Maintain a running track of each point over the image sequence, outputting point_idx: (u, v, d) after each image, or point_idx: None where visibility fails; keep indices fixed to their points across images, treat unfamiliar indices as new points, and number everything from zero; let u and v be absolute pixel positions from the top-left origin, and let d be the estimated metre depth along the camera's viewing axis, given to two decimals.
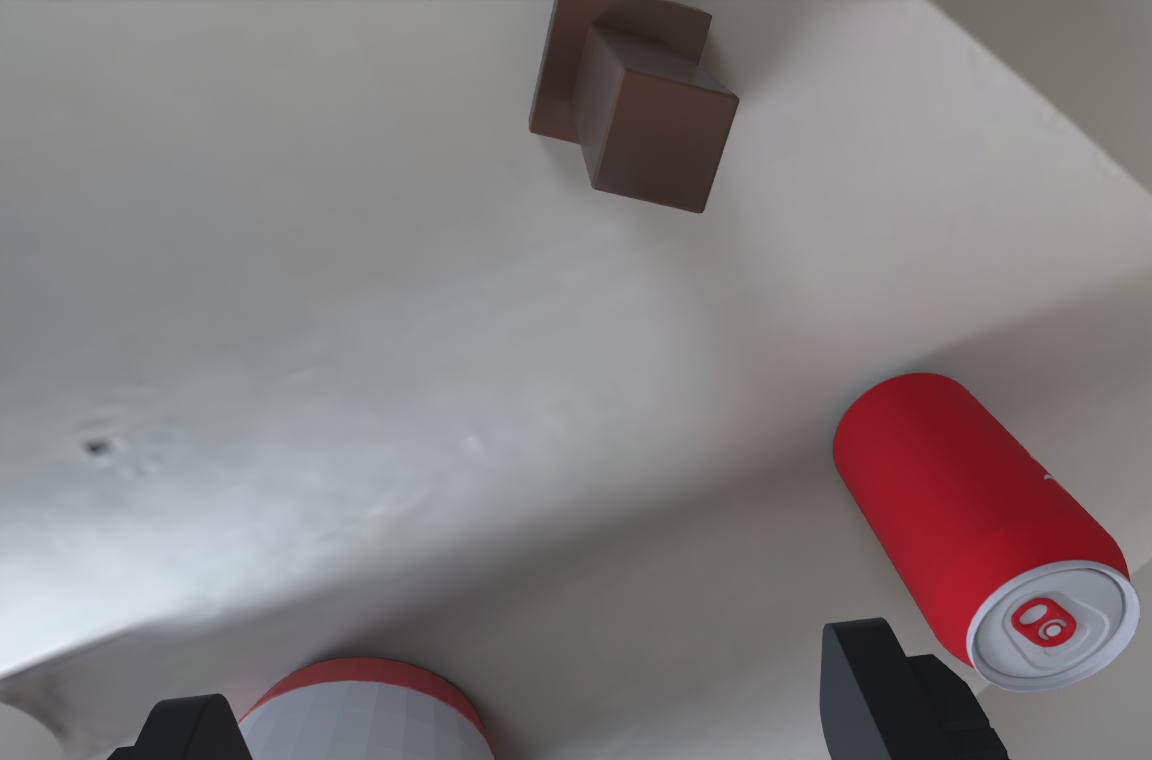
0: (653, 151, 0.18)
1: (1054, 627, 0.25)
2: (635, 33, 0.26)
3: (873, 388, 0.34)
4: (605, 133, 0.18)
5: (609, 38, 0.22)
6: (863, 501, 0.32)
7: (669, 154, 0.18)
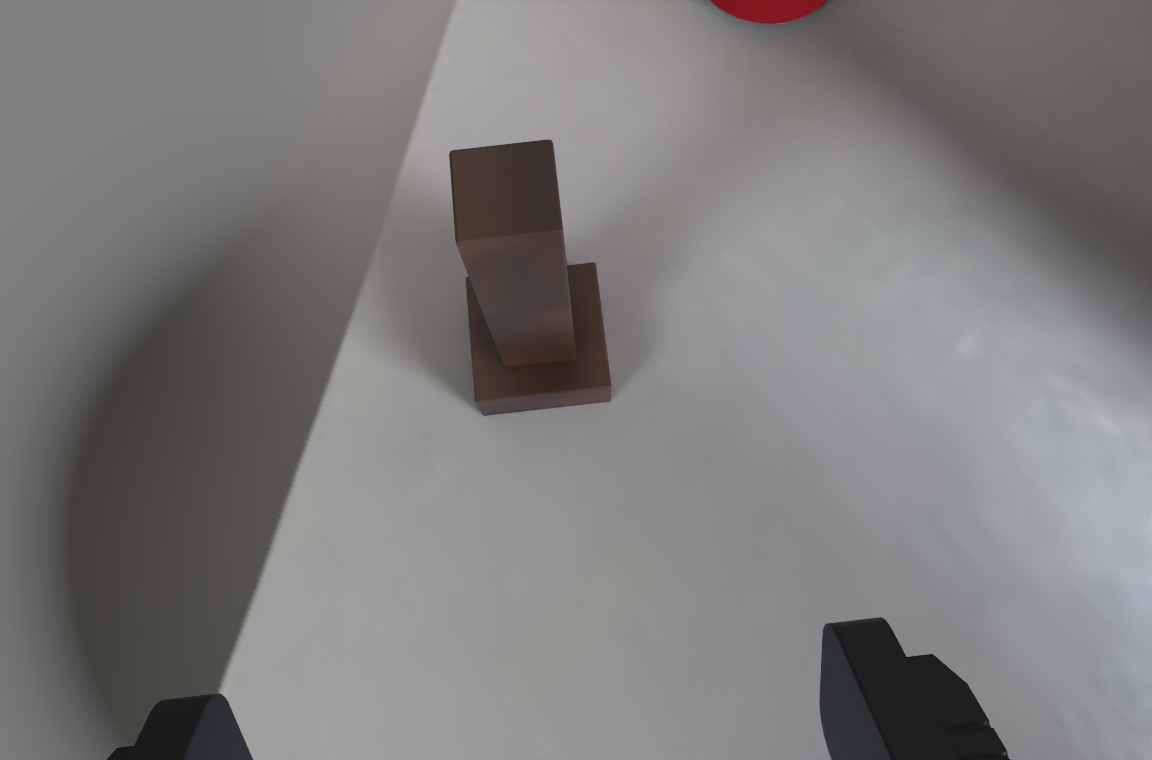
0: (513, 195, 0.20)
1: None
2: None
3: (730, 13, 0.35)
4: (512, 238, 0.20)
5: None
6: None
7: (511, 183, 0.21)
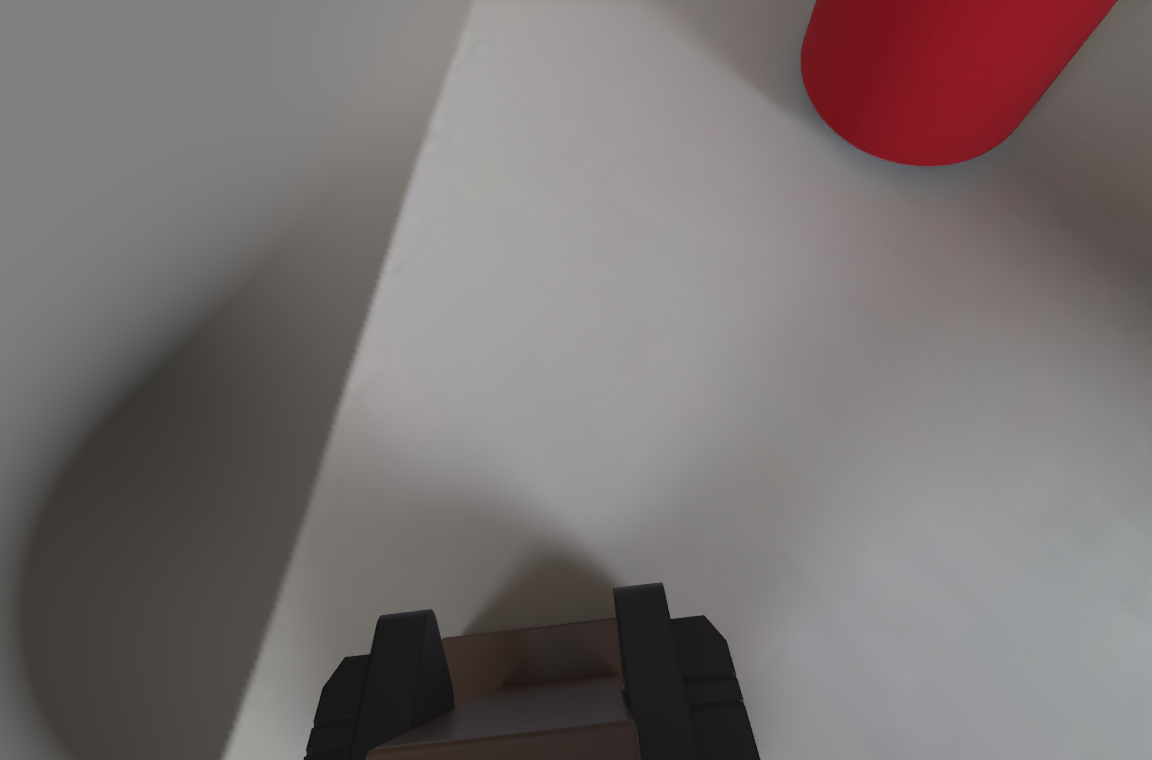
0: None
1: None
2: None
3: (863, 149, 0.22)
4: None
5: None
6: (1058, 61, 0.19)
7: None
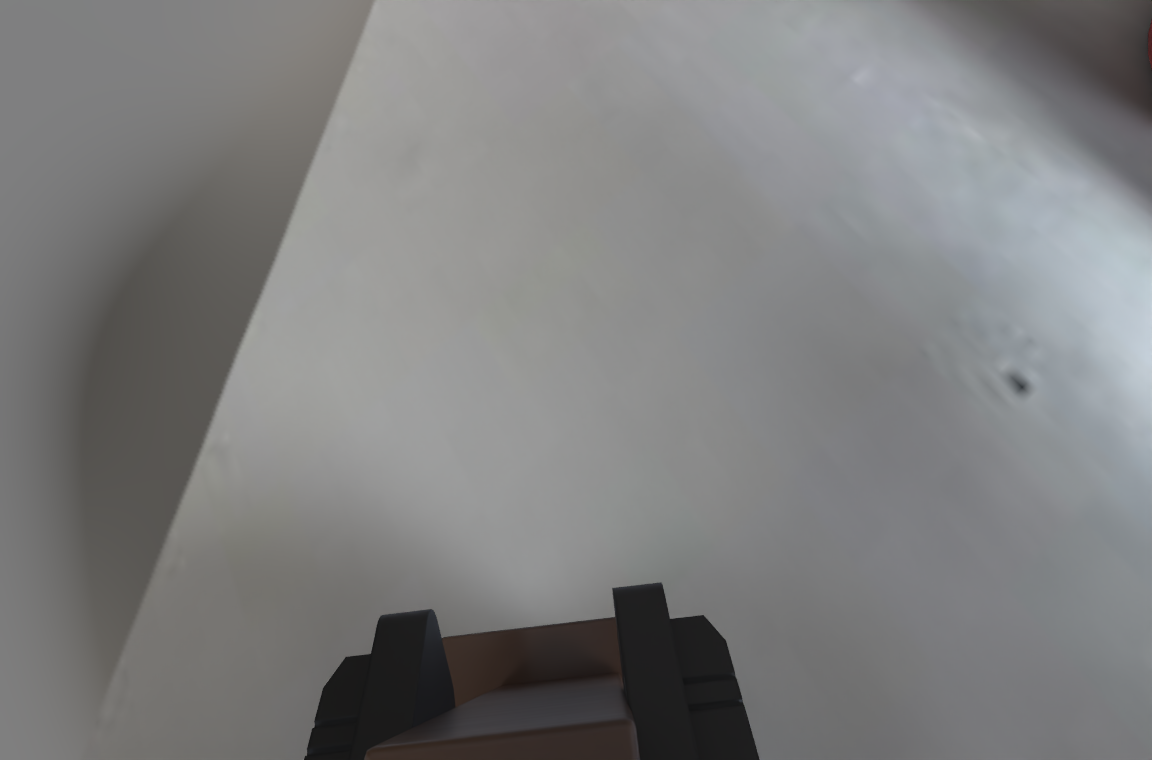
0: None
1: None
2: None
3: None
4: None
5: None
6: None
7: None
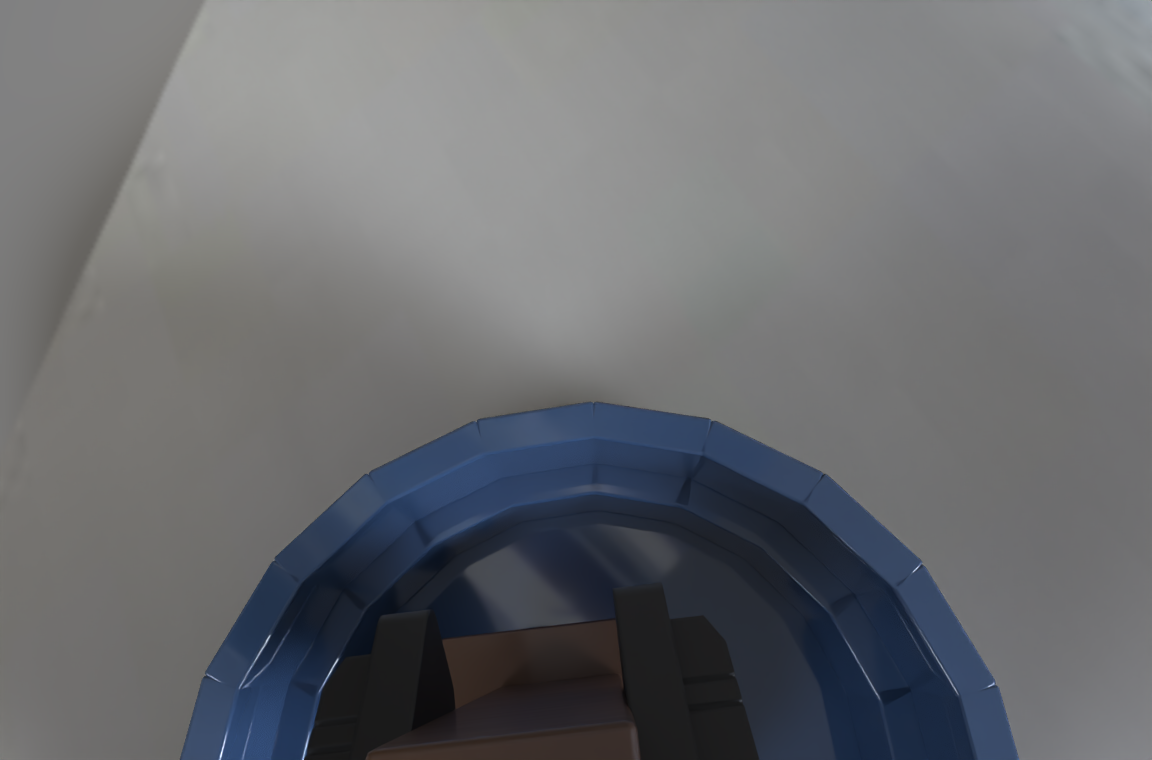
0: None
1: None
2: None
3: None
4: None
5: None
6: None
7: None
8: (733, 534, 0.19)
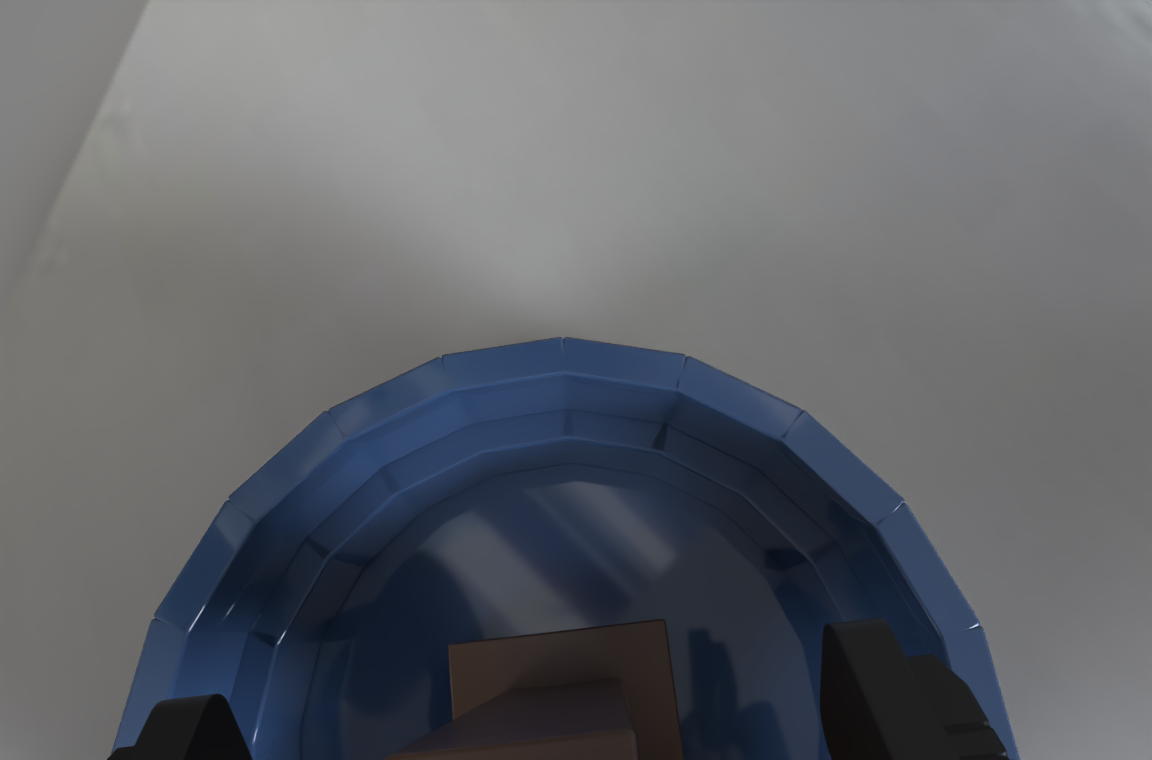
0: None
1: None
2: None
3: None
4: None
5: None
6: None
7: None
8: (710, 481, 0.19)
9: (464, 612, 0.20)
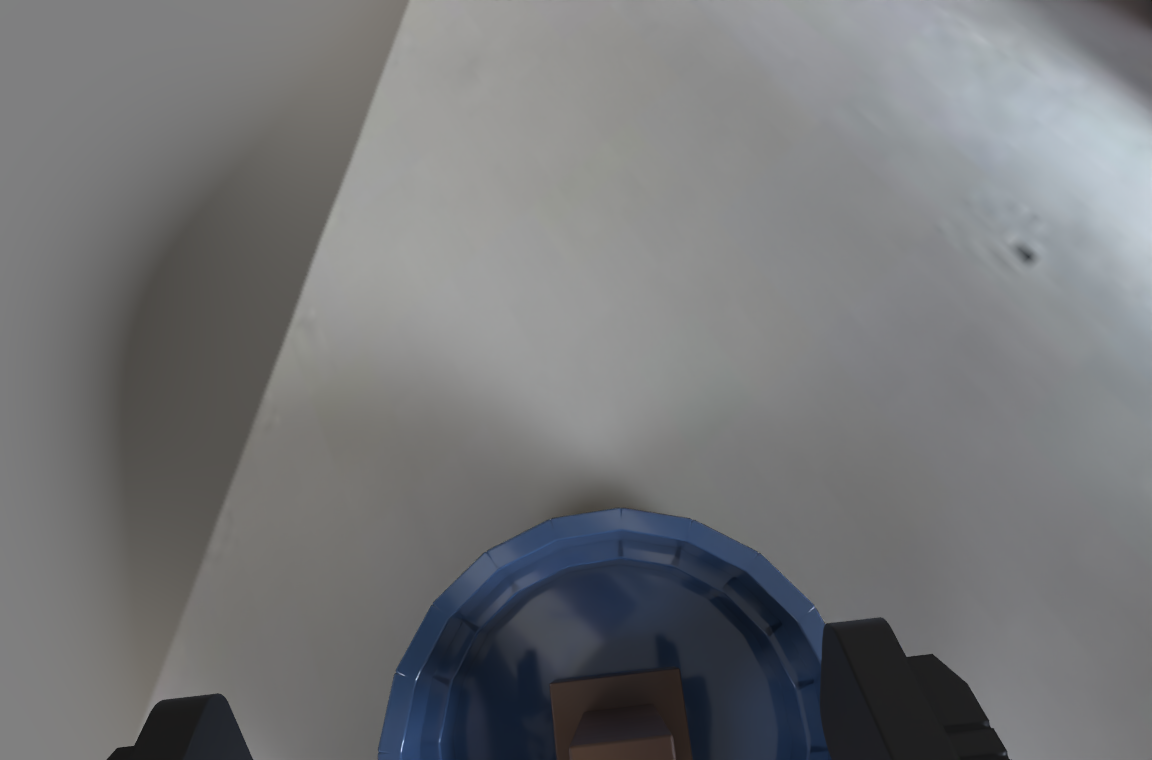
0: None
1: None
2: None
3: None
4: None
5: None
6: None
7: None
8: (707, 584, 0.31)
9: (553, 661, 0.33)
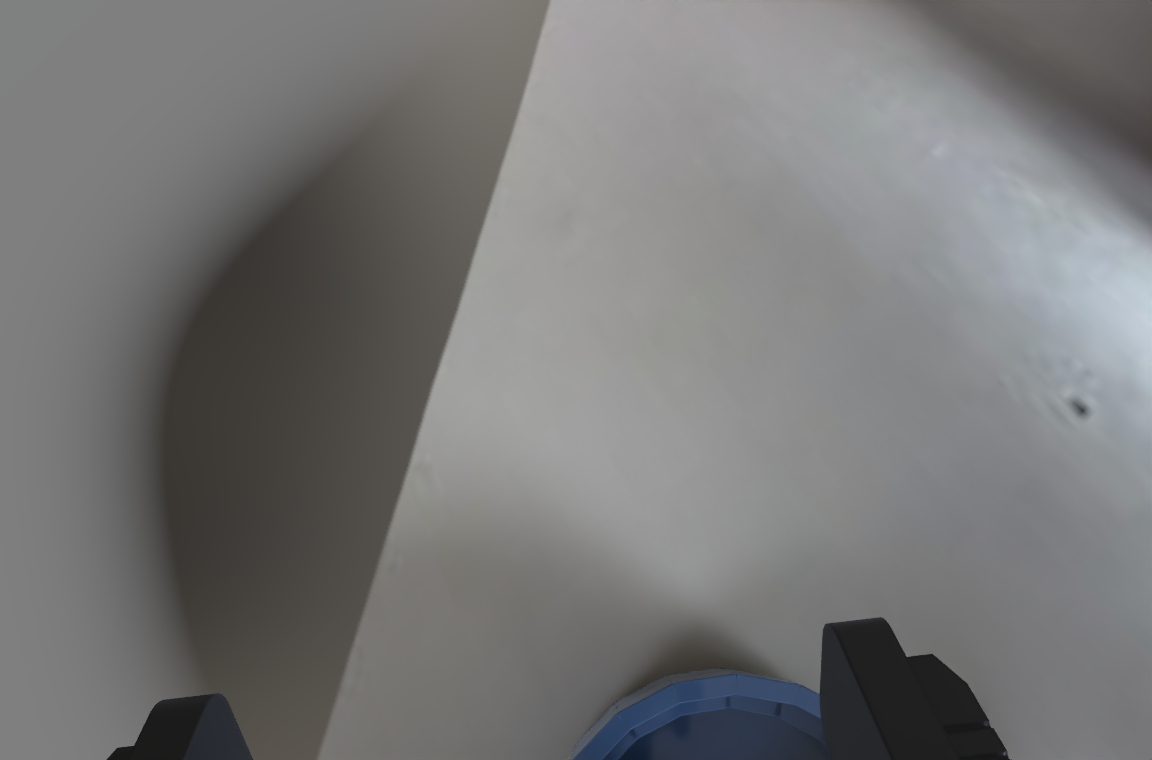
0: None
1: None
2: None
3: None
4: None
5: None
6: None
7: None
8: (806, 733, 0.34)
9: None
